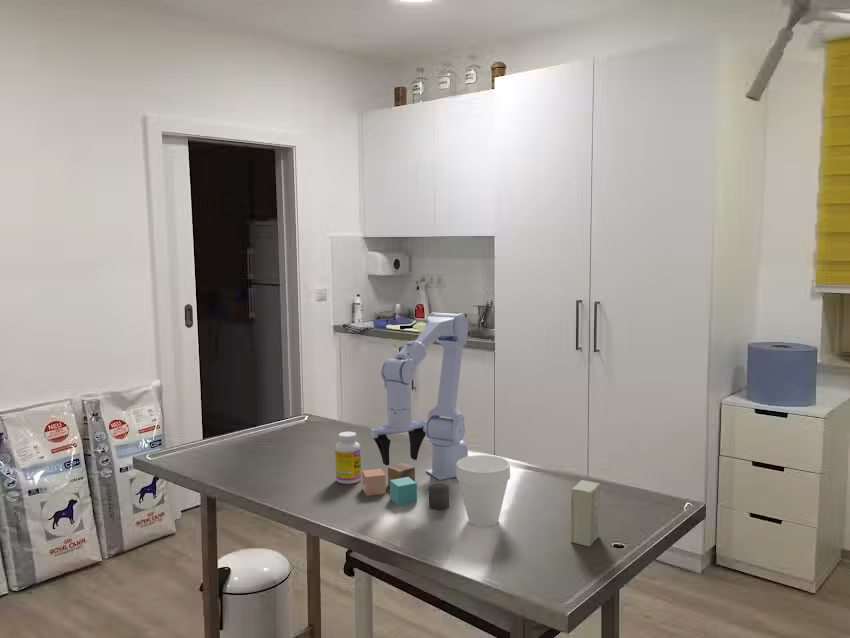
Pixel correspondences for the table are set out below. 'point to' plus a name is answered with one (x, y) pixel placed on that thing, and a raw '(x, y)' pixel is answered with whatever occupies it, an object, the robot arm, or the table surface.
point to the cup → (483, 487)
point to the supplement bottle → (348, 459)
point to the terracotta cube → (373, 482)
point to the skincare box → (585, 512)
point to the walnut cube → (400, 472)
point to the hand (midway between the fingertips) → (400, 461)
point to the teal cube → (403, 491)
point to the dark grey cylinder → (438, 496)
